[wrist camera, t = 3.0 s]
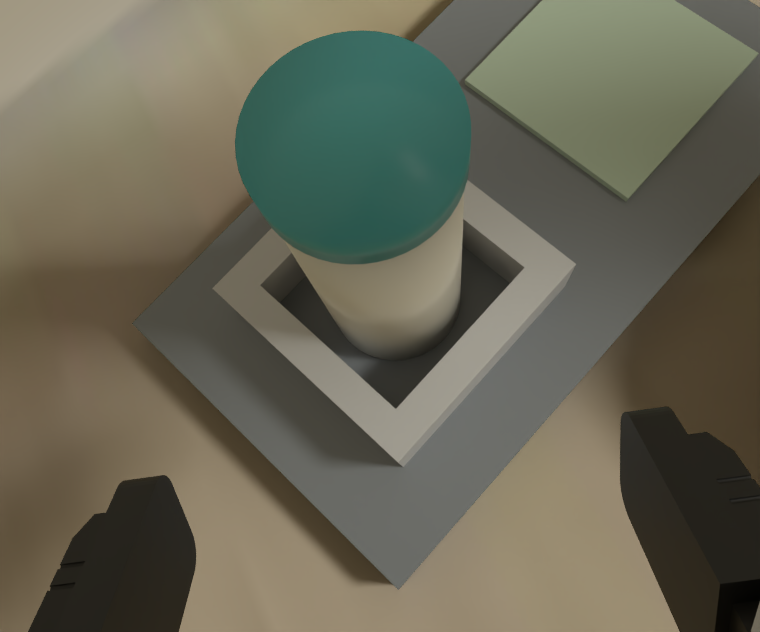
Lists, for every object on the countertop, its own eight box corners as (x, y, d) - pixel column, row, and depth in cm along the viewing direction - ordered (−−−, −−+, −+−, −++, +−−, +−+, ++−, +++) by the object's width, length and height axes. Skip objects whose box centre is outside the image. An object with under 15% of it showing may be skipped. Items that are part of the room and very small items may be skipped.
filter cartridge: (392, 210, 27) (347, -9, 16) (490, 291, 26) (521, 118, 14) (303, 303, 26) (187, 146, 15) (400, 391, 25) (356, 293, 14)
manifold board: (559, -83, 32) (574, -165, 28) (834, 87, 28) (894, 21, 24) (148, 332, 28) (100, 305, 25) (401, 585, 25) (392, 599, 21)
